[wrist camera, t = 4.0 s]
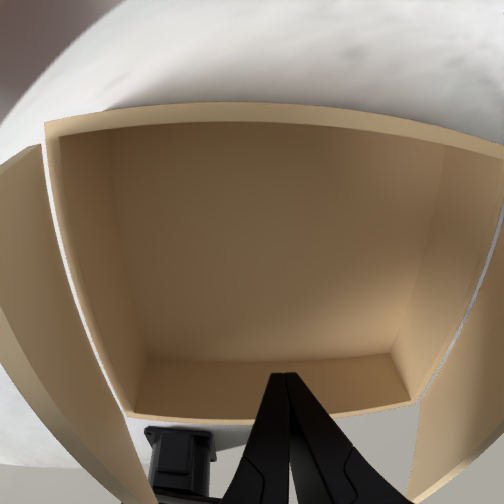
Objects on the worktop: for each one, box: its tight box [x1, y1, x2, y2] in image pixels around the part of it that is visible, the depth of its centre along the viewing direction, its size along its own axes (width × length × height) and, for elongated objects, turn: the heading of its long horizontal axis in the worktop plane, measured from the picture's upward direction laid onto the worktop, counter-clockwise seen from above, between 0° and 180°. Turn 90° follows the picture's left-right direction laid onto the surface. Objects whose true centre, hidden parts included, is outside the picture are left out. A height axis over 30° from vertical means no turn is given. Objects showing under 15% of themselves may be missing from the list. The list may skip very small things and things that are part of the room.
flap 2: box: [405, 219, 504, 504], centre depth 9 cm, size 15×8×1 cm
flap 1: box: [0, 144, 159, 504], centre depth 8 cm, size 15×8×1 cm
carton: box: [44, 102, 504, 425], centre depth 14 cm, size 16×18×5 cm
